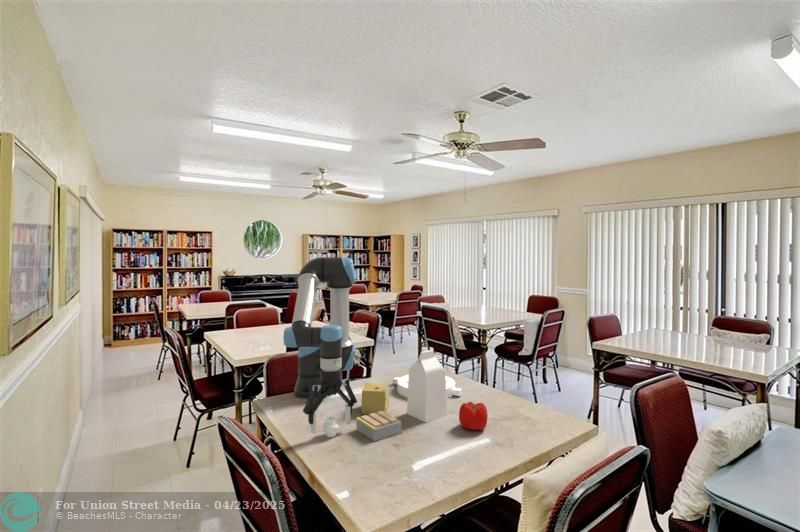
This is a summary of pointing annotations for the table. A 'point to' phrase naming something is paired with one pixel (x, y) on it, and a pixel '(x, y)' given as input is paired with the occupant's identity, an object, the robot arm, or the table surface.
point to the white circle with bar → (403, 386)
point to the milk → (427, 388)
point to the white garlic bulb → (331, 427)
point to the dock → (378, 425)
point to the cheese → (374, 398)
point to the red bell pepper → (473, 416)
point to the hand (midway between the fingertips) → (330, 427)
